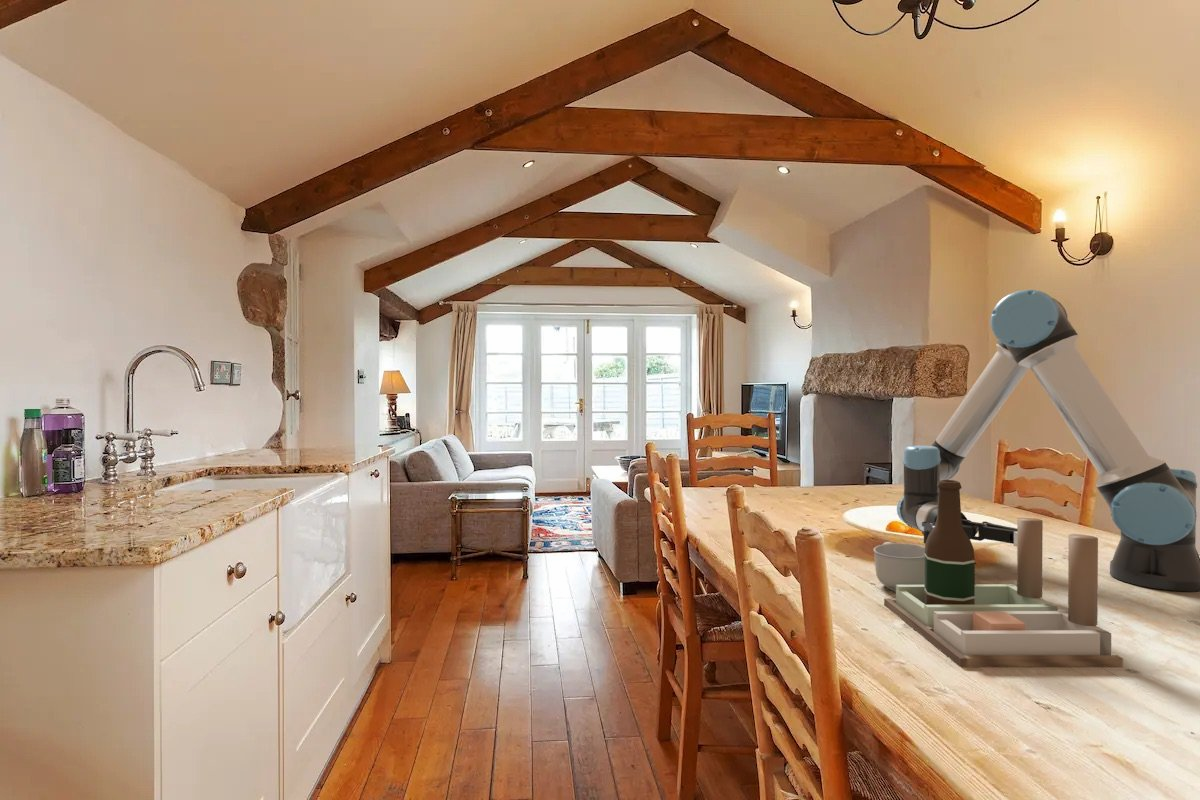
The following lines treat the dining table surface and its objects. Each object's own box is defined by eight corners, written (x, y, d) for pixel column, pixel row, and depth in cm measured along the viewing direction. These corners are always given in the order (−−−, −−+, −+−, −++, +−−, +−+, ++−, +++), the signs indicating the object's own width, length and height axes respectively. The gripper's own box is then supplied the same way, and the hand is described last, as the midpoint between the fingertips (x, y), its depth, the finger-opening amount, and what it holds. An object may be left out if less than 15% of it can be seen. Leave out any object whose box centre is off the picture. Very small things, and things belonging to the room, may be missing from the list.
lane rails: (1010, 604, 120) (1010, 598, 120) (1122, 666, 93) (1122, 658, 93) (884, 604, 120) (884, 598, 120) (960, 666, 94) (960, 658, 94)
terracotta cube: (1004, 643, 102) (1005, 611, 102) (1024, 656, 97) (1025, 623, 97) (972, 643, 103) (972, 611, 102) (990, 656, 98) (991, 623, 97)
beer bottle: (914, 612, 116) (914, 478, 116) (956, 610, 117) (956, 477, 116) (941, 628, 108) (941, 484, 108) (985, 626, 109) (985, 483, 109)
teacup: (941, 598, 124) (941, 556, 123) (879, 595, 126) (879, 554, 126) (920, 577, 137) (920, 539, 137) (865, 574, 139) (865, 537, 139)
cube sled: (1072, 635, 104) (1073, 529, 104) (1118, 660, 95) (1119, 544, 95) (933, 636, 105) (933, 530, 104) (965, 660, 95) (965, 545, 95)
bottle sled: (1018, 606, 118) (1018, 512, 118) (1064, 631, 106) (1064, 527, 106) (895, 606, 119) (895, 513, 118) (927, 631, 107) (927, 528, 106)
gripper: (1000, 539, 141) (1068, 567, 120) (884, 540, 142) (930, 567, 121) (1000, 505, 141) (1068, 526, 120) (884, 505, 142) (930, 527, 121)
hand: (999, 547), depth 120 cm, fingers open, 13 cm apart
